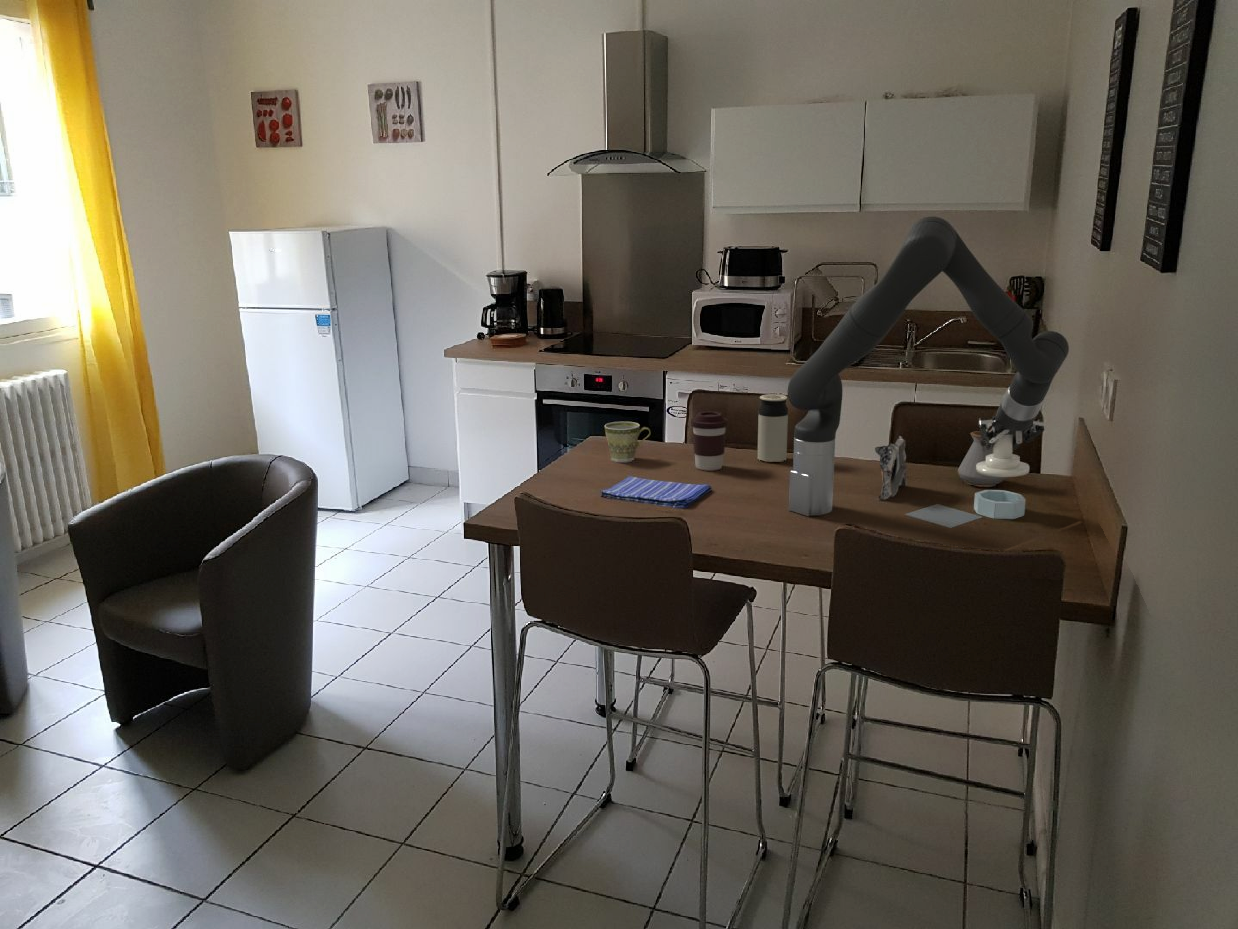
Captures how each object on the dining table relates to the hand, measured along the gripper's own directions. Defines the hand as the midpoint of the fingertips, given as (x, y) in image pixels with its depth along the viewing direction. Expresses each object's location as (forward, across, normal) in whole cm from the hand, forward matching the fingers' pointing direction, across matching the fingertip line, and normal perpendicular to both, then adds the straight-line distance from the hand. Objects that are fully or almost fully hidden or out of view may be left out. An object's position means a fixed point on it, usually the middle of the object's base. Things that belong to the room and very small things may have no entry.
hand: (1000, 447), depth 206 cm
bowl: (+9, +1, -12) cm, 15 cm away
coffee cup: (+34, -67, +11) cm, 76 cm away
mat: (+7, -12, -15) cm, 20 cm away
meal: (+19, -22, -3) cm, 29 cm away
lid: (+2, 0, -5) cm, 5 cm away
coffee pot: (+23, +1, +2) cm, 23 cm away
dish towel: (+16, -78, -7) cm, 80 cm away
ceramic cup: (+38, -90, +16) cm, 99 cm away
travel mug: (+40, -50, +18) cm, 66 cm away
